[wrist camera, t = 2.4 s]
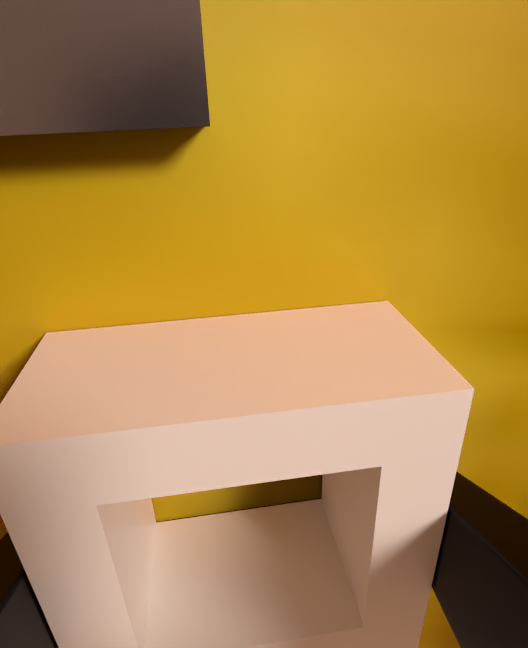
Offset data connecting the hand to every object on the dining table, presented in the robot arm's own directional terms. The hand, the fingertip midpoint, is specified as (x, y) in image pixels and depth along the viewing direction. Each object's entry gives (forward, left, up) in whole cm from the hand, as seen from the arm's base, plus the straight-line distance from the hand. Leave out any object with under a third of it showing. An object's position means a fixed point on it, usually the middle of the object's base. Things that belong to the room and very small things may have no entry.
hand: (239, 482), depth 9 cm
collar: (0, 0, -1) cm, 1 cm away
